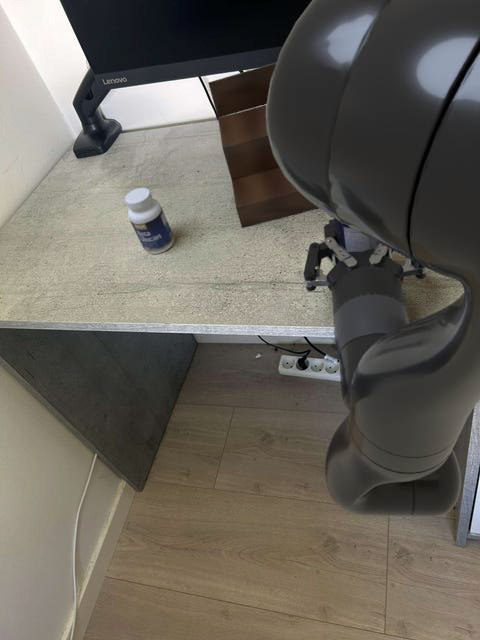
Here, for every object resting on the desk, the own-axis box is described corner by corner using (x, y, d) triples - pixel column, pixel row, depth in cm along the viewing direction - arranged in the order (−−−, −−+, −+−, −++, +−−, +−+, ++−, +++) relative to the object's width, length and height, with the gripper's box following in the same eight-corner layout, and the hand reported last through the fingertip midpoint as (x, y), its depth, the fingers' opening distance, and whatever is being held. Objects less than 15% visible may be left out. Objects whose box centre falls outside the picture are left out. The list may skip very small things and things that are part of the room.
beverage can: (390, 265, 66) (389, 189, 57) (373, 294, 63) (369, 219, 54) (351, 256, 68) (344, 183, 60) (333, 283, 66) (323, 211, 57)
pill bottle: (144, 258, 79) (119, 210, 72) (144, 238, 83) (120, 190, 76) (175, 249, 79) (154, 199, 72) (174, 230, 83) (153, 180, 76)
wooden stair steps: (305, 147, 90) (291, 57, 78) (327, 205, 77) (315, 108, 66) (232, 167, 92) (208, 82, 80) (241, 227, 79) (215, 136, 67)
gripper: (445, 288, 47) (417, 187, 58) (296, 304, 50) (296, 205, 61) (440, 337, 52) (415, 236, 63) (306, 348, 56) (304, 250, 67)
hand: (357, 221), depth 62 cm, fingers closed on beverage can, 5 cm apart
